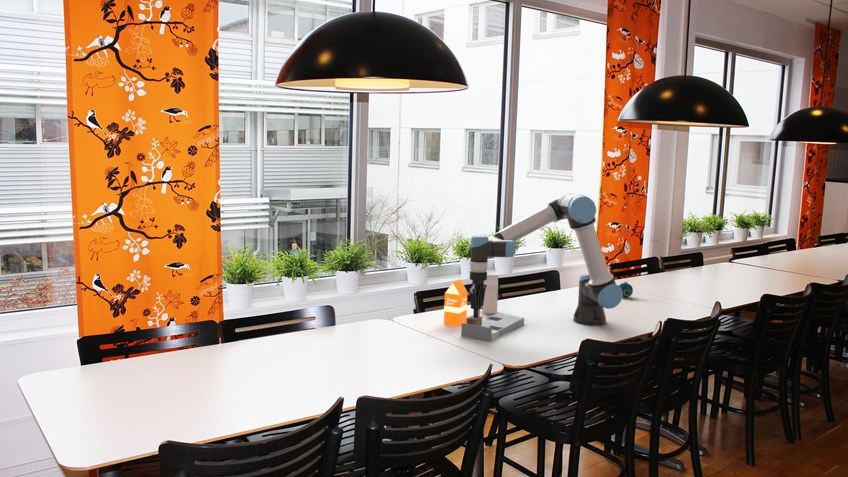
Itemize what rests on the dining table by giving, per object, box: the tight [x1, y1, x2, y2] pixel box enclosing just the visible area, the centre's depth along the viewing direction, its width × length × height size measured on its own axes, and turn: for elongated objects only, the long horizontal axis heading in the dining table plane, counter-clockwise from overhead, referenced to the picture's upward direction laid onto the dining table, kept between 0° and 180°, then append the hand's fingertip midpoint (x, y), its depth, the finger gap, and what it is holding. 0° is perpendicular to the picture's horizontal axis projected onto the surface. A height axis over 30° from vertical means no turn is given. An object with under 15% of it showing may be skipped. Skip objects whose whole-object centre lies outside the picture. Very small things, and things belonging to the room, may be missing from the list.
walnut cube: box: [465, 315, 483, 326], centre depth 288 cm, size 5×5×5 cm
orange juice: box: [443, 278, 468, 327], centre depth 308 cm, size 8×9×20 cm
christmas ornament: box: [618, 280, 634, 299], centre depth 372 cm, size 8×8×10 cm
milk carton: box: [481, 274, 499, 315], centre depth 330 cm, size 7×7×19 cm
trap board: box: [460, 312, 525, 343], centre depth 298 cm, size 14×36×6 cm, turn 149°
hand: (476, 323), depth 291 cm, fingers closed
